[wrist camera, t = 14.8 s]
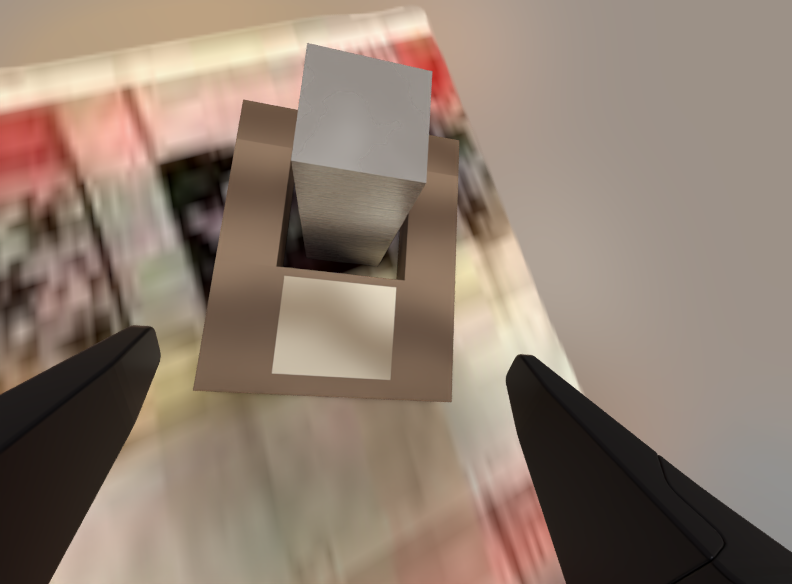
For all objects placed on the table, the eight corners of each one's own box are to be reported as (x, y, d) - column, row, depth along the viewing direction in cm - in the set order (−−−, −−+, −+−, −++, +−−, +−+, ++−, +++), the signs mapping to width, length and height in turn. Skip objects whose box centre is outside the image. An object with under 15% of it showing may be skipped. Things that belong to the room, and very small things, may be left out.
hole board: (437, 397, 22) (452, 402, 19) (209, 386, 19) (191, 391, 17) (446, 161, 25) (460, 138, 22) (251, 127, 22) (242, 97, 20)
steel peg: (377, 266, 22) (426, 183, 12) (306, 257, 22) (291, 160, 11) (382, 202, 23) (431, 71, 13) (314, 192, 22) (307, 43, 12)
